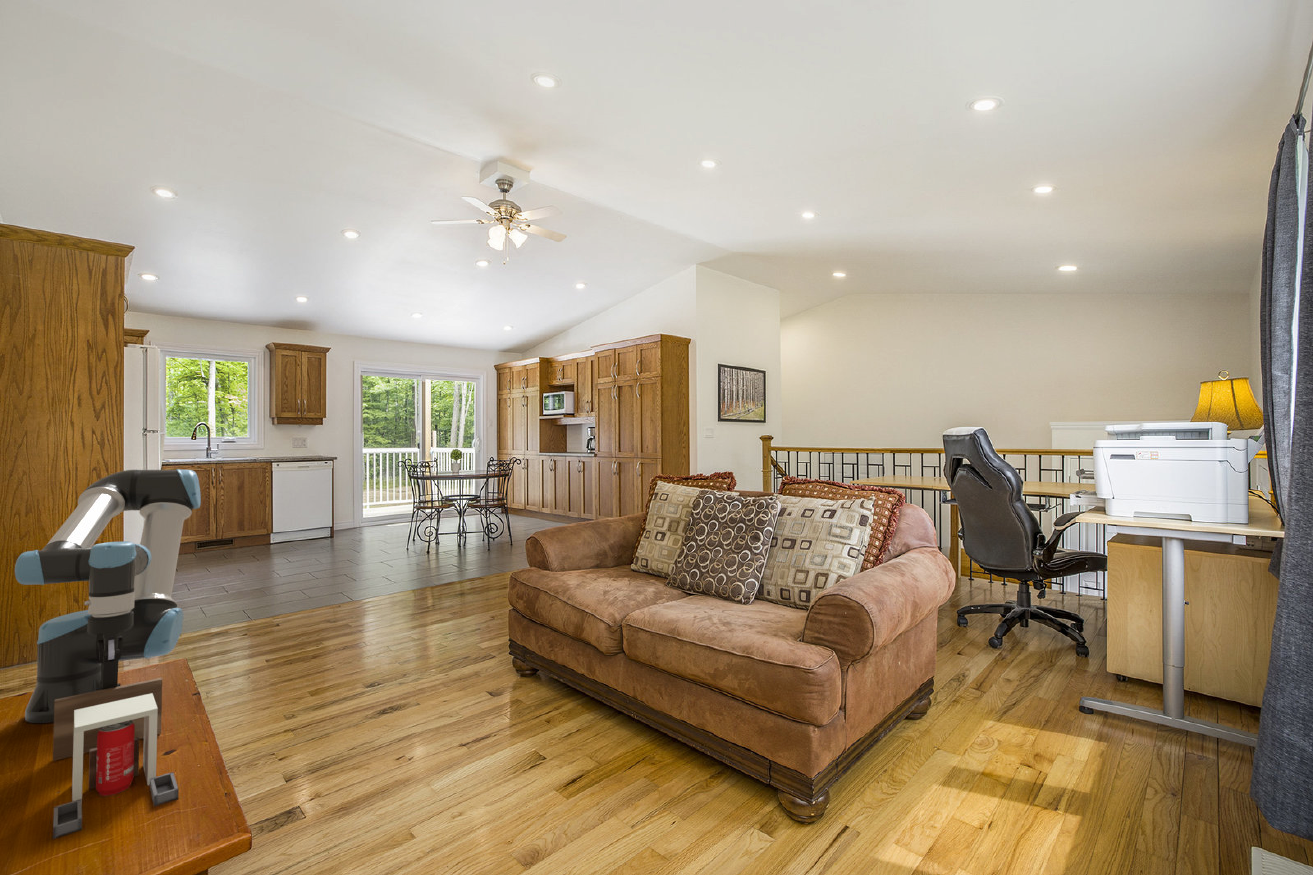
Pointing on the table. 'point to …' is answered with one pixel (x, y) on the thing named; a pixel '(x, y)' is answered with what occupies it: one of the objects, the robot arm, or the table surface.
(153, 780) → the pit
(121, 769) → the beverage can
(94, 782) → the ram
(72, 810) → the pit
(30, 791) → the table surface
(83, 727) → the tunnel
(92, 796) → the table surface
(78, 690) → the robot arm
